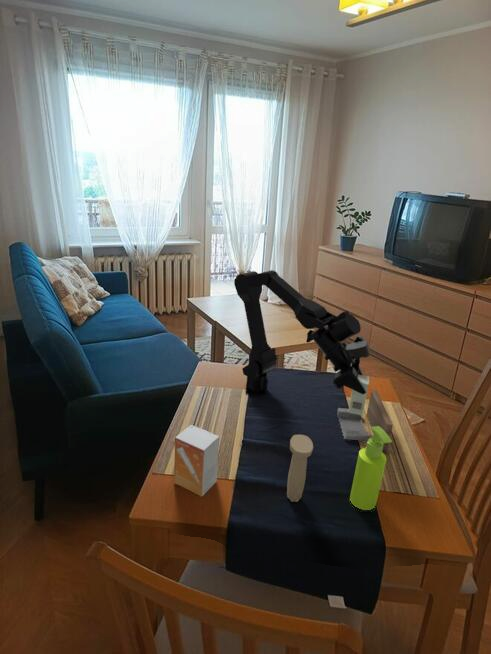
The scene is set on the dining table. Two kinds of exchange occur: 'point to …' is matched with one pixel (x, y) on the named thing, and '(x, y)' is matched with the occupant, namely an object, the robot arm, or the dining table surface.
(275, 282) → the robot arm
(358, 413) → the sage green block
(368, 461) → the soap dispenser
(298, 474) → the handle
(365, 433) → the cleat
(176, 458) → the small box
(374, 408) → the wall board
